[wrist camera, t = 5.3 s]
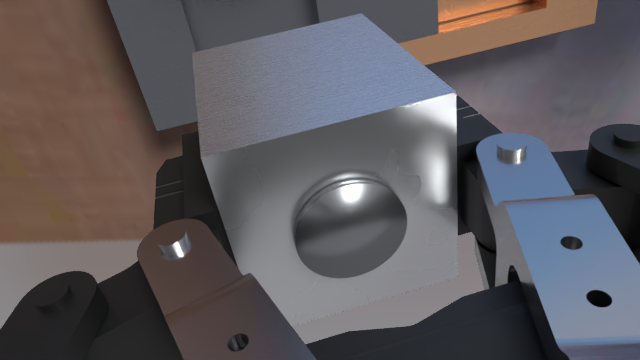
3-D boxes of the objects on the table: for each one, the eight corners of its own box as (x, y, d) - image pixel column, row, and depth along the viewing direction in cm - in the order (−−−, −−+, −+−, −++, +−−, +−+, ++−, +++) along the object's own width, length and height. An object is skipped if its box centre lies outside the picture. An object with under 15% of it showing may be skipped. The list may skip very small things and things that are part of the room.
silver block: (235, 195, 15) (262, 344, 11) (191, 53, 13) (201, 164, 8) (377, 158, 16) (463, 284, 11) (361, 13, 13) (462, 97, 9)
